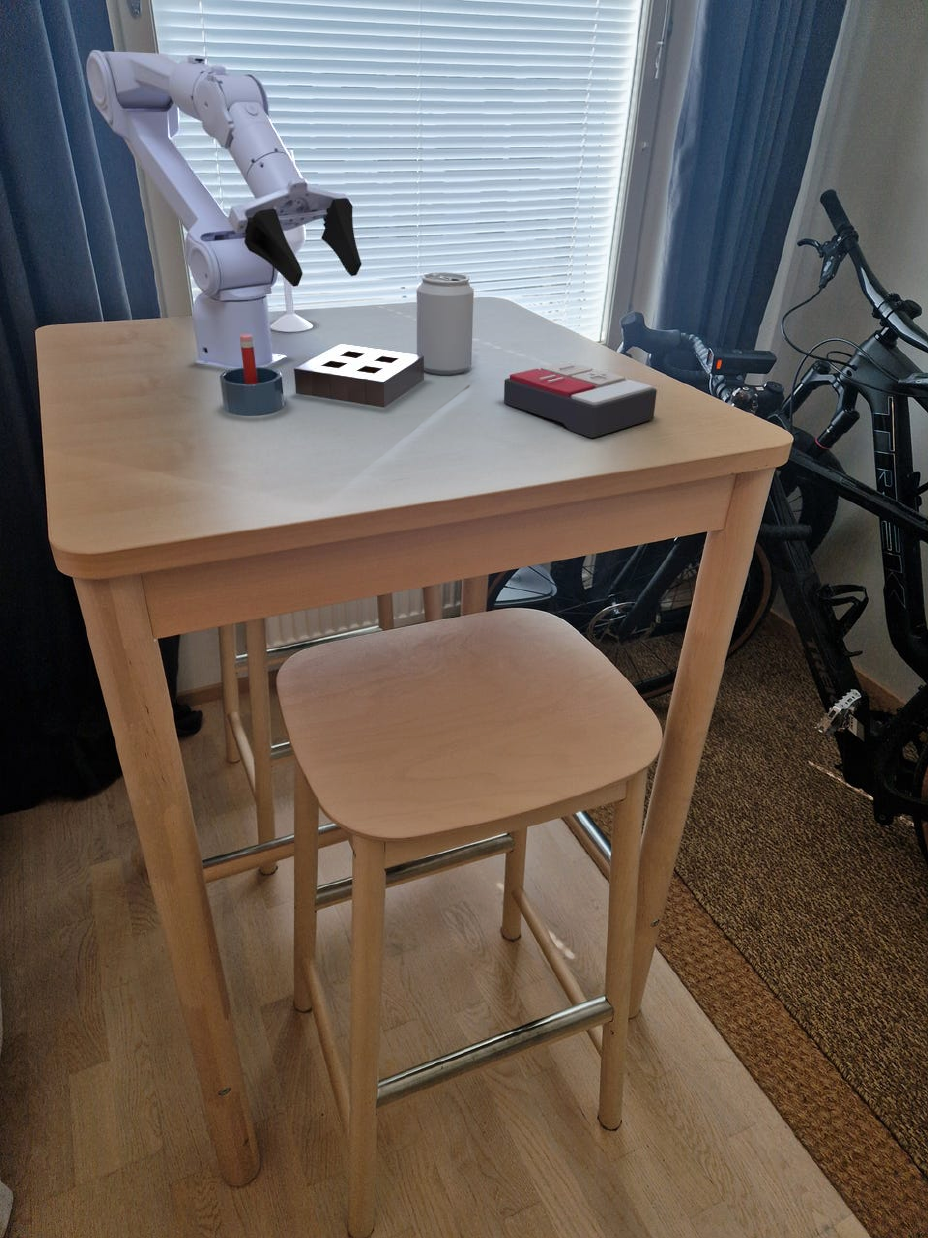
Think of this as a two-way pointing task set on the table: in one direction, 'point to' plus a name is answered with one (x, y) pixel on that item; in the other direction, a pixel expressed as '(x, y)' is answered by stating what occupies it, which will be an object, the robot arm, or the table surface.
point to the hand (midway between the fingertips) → (327, 274)
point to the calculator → (581, 398)
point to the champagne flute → (291, 320)
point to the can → (445, 322)
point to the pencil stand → (359, 375)
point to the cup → (252, 392)
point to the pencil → (248, 359)
